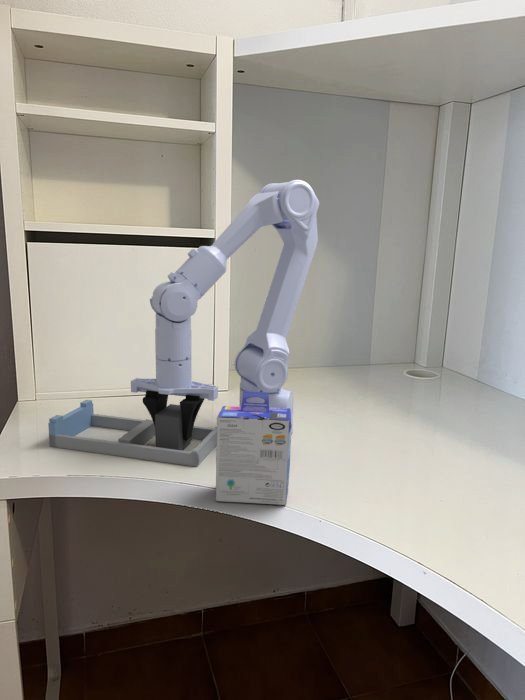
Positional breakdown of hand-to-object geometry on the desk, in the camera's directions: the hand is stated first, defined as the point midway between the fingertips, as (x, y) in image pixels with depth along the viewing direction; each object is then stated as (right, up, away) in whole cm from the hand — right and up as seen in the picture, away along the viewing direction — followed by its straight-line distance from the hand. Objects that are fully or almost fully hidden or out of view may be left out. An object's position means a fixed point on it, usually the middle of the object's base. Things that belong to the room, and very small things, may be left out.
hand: (174, 436), depth 91 cm
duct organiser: (-7, -1, +2) cm, 7 cm away
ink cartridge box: (+13, -6, -15) cm, 21 cm away
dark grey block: (0, -1, 0) cm, 1 cm away
